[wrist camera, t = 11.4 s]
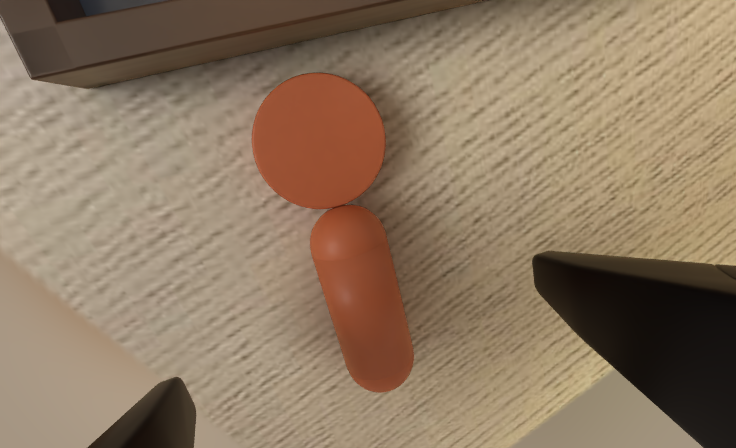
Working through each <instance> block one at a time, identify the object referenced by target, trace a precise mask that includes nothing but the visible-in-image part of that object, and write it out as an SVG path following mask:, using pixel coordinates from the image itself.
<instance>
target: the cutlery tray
mask: <svg viewBox="0 0 736 448" xmlns="http://www.w3.org/2000/svg"><path fill="white" fill-rule="evenodd" d="M483 1H487V0H0V18H1V20H2V22H3V24H4V26H5V28H6V30H7V32H8V34H9V36H10V38H11V40H12V42H13V44H14V46H15V48H16V50H17V52H18V54H19V56H20V58H21V60H22V62H23V64H24V66H25V68H26V70H27V72H28V74H29V76H30V78H31V79H32V80H38V81H44V82H50V83H55V84H61V85H67V86H73V87H79V88H85V89H91V88H95V87H100V86H104V85H109V84H113V83H118V82H122V81H126V80H131V79H135V78H140V77H144V76H149V75H153V74H158V73H162V72H167V71H171V70H176V69H180V68H185V67H189V66H194V65H198V64H203V63H207V62H212V61H216V60H221V59H225V58H230V57H234V56H239V55H243V54H248V53H253V52H257V51H262V50H266V49H271V48H275V47H280V46H284V45H289V44H293V43H298V42H302V41H307V40H311V39H316V38H320V37H325V36H329V35H334V34H338V33H343V32H347V31H352V30H356V29H361V28H365V27H370V26H374V25H379V24H383V23H388V22H392V21H397V20H401V19H406V18H410V17H415V16H419V15H424V14H428V13H433V12H437V11H442V10H446V9H451V8H455V7H460V6H465V5H469V4H474V3H478V2H483Z"/></svg>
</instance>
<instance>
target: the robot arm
mask: <svg viewBox="0 0 736 448" xmlns="http://www.w3.org/2000/svg"><path fill="white" fill-rule="evenodd" d="M532 265H533V274H534V283H535V287H536V289H537V291H538V292H539V294H540V295H541V296H542V297H543V298H544V299H545V300H546V301H547V302H548V304H549V305H550V306H551V307H552V308H553V309H554V310H555V311H556V312H557V313H558V314H559V315H560V317H561V318H562V319H563V320H564V321H565V322H566V323H567V324H568V325H569V326H570V327H571V328H572V330H573V331H574V332H575V333H576V334H577V335H578V336H579V337H581V338H582V339H583V340H584V341H585V342H586V343H587V344H588V345H589V346H590V347H591V348H593V349H594V350H595V351H596V352H597V353H598V354H599V355H600V356H602V357H603V358H604V359H605V360H606V361H607V362H608V363H609V364H611V365H612V366H613V367H614V368H615V369H616V370H617V371H618V372H620V373H621V374H622V375H623V376H624V377H625V378H626V379H627V380H628V381H630V382H631V383H632V384H633V385H634V386H635V387H636V388H637V389H638V390H640V391H641V392H642V393H643V394H644V395H645V396H646V397H647V398H649V399H650V400H651V401H652V402H653V403H654V404H655V405H656V406H658V407H659V408H660V409H661V410H662V411H663V412H664V413H665V414H667V415H668V416H669V417H670V418H671V419H672V420H673V421H674V422H675V423H677V424H678V425H679V426H680V427H681V428H682V429H683V430H684V431H686V432H687V433H688V434H689V435H690V436H691V437H692V438H693V439H695V440H696V441H697V442H698V443H699V444H700V445H701V446H702V447H703V448H736V266H730V265H715V266H714V265H712V264H705V263H693V262H680V261H668V260H656V259H643V258H631V257H619V256H607V255H594V254H582V253H570V252H557V251H546V252H543V253H540V254H537V255H535V256H534V257H533V259H532ZM195 424H196V408H195V405H194V402H193V400H192V398H191V396H190V394H189V392H188V390H187V388H186V386H185V384H184V382H183V381H182V379H181V378H179V377H174V378H171V379H168V380H166V381H163V382H160V383H159V384H157V385H156V386H155V387H154V388H153V389H152V390H151V391H150V392H149V393H147V394H146V395H145V396H144V397H143V398H142V399H141V400H140V401H138V403H136V404H135V405H134V406H133V407H132V408H131V409H130V410H129V411H127V412H126V413H125V414H124V415H123V416H122V417H121V418H120V419H119V420H117V422H115V423H114V424H113V425H112V426H111V427H110V428H109V429H108V430H107V431H105V432H104V433H103V434H102V435H101V436H100V437H99V438H98V439H96V440H95V441H94V442H93V443H92V444H91V445H90V446H89V447H88V448H194V437H195Z"/></svg>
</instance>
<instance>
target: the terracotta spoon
mask: <svg viewBox="0 0 736 448" xmlns="http://www.w3.org/2000/svg"><path fill="white" fill-rule="evenodd" d="M385 147H386V137H385V130H384V125H383V122H382V118H381V116H380V114H379V111H378V110H377V108H376V106H375V104H374V103H373V102H372V100H371V99H370V98H369V96H368V95H367V94H366V93H365V92H364V91H363V90H362V89H360V88H359V87H358V86H357V85H355V84H354V83H352V82H350V81H349V80H347V79H344V78H342V77H340V76H336V75H333V74H328V73H307V74H302V75H298V76H295V77H293V78H290V79H288V80H286V81H284V82H283V83H281V84H280V85H278V86H277V87H276V88H275V89H274V90H273V91H272V92H270V94H269V95H268V96H267V97H266V98H265V100H264V101H263V103H262V104H261V106H260V108H259V110H258V112H257V115H256V117H255V121H254V124H253V131H252V148H253V154H254V158H255V162H256V164H257V167H258V169H259V171H260V173H261V175H262V176H263V178H264V179H265V181H266V182H267V183H268V185H269V186H270V187H271V188H272V189H273V190H274V191H275V192H276V193H278V194H279V195H280V196H281V197H283V198H284V199H286V200H288V201H289V202H292V203H294V204H296V205H299V206H302V207H306V208H312V209H329V208H332V209H330V210H328V211H327V212H325V213H324V214H323V215H322V216H321V217H320V218H319V219H318V221H317V222H316V223H315V225H314V228H313V230H312V233H311V238H310V249H311V254H312V257H313V260H314V264H315V267H316V270H317V273H318V276H319V280H320V283H321V286H322V289H323V292H324V296H325V299H326V302H327V305H328V308H329V312H330V315H331V318H332V321H333V324H334V328H335V331H336V334H337V337H338V340H339V344H340V347H341V350H342V353H343V356H344V360H345V363H346V366H347V369H348V371H349V373H350V375H351V377H352V378H353V379H354V380H355V382H356V383H357V384H359V385H360V386H361V387H363V388H364V389H367V390H369V391H373V392H388V391H391V390H393V389H395V388H397V387H399V386H400V385H401V384H402V383H403V382H404V381H405V380H406V379H407V377H408V376H409V374H410V372H411V369H412V367H413V361H414V352H413V346H412V341H411V337H410V333H409V329H408V324H407V320H406V316H405V312H404V308H403V303H402V299H401V295H400V291H399V287H398V282H397V278H396V274H395V270H394V265H393V261H392V257H391V253H390V249H389V244H388V240H387V236H386V232H385V229H384V227H383V225H382V223H381V222H380V220H379V219H378V218H377V217H376V216H375V215H374V214H373V213H372V212H370V211H369V210H367V209H365V208H363V207H361V206H357V205H344V204H347V203H349V202H351V201H353V200H354V199H356V198H357V197H359V196H360V195H361V194H362V193H364V192H365V191H366V190H367V189H368V188H369V186H370V185H371V184H372V183H373V181H374V180H375V178H376V177H377V175H378V173H379V171H380V169H381V166H382V163H383V160H384V155H385Z"/></svg>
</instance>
